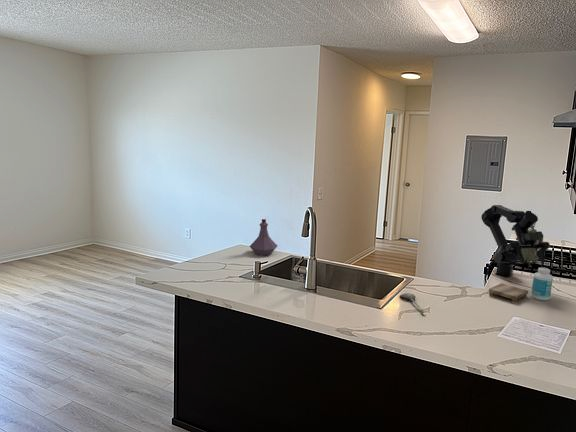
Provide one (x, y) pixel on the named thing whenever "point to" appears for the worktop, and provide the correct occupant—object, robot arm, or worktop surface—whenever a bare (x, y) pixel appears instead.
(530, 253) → the tabletop clock
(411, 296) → the soupspoon
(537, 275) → the pill bottle
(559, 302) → the worktop surface
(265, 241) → the flask
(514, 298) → the small wooden pallet
